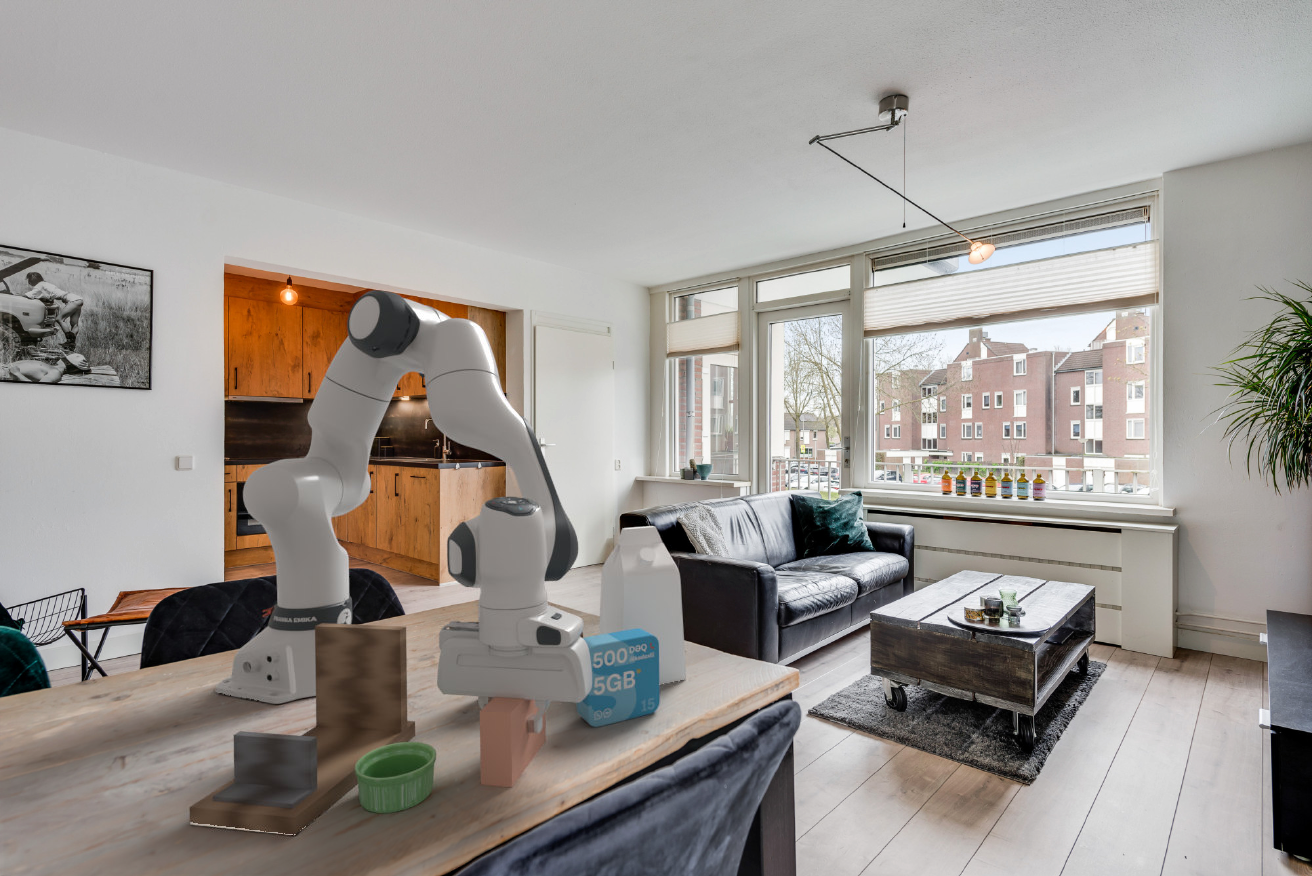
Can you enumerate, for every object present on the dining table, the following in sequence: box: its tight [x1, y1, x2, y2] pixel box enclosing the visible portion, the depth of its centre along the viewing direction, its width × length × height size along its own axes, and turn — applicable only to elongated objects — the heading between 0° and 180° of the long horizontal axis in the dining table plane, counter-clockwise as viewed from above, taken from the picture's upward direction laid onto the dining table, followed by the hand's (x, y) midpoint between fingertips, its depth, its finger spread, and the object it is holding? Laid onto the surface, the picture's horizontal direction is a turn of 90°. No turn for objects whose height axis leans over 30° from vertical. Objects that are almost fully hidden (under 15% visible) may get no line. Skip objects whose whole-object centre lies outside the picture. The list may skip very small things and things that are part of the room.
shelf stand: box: [189, 623, 416, 835], centre depth 83 cm, size 13×24×16 cm, turn 170°
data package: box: [575, 628, 661, 728], centre depth 100 cm, size 12×4×12 cm, turn 120°
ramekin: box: [355, 741, 437, 814], centre depth 79 cm, size 9×9×4 cm
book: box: [479, 697, 547, 788], centre depth 86 cm, size 4×12×9 cm, turn 170°
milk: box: [598, 525, 687, 685], centre depth 117 cm, size 12×12×26 cm
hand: (514, 729), depth 86 cm, fingers closed on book, 4 cm apart
